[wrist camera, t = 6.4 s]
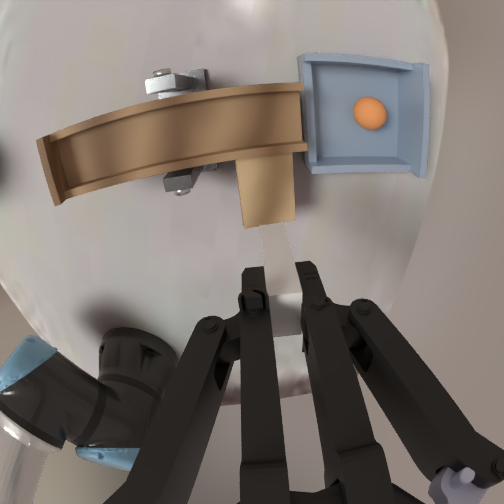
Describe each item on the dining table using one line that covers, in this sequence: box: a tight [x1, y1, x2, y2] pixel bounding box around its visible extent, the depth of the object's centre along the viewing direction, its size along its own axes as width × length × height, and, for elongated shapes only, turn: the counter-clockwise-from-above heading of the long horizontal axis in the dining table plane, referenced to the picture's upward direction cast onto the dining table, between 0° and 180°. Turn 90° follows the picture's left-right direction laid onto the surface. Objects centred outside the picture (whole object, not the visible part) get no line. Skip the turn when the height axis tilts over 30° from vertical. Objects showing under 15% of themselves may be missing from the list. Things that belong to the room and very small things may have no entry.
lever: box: [36, 82, 308, 229], centre depth 22 cm, size 22×13×3 cm, turn 96°
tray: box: [297, 53, 430, 178], centre depth 24 cm, size 12×12×6 cm
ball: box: [353, 97, 387, 130], centre depth 24 cm, size 4×4×4 cm
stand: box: [145, 69, 218, 196], centre depth 24 cm, size 5×11×8 cm, turn 6°
